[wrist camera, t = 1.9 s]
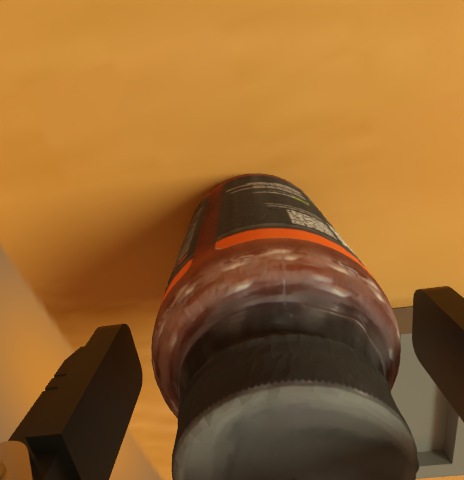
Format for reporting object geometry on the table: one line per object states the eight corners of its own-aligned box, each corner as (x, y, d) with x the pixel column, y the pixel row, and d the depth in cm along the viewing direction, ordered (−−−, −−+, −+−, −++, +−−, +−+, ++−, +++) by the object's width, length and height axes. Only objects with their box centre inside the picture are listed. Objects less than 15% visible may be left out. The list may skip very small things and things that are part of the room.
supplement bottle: (205, 296, 17) (152, 600, 7) (179, 182, 15) (38, 360, 4) (323, 280, 17) (469, 579, 6) (314, 159, 15) (515, 299, 4)
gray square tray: (266, 322, 18) (270, 348, 16) (465, 300, 17) (494, 324, 15) (284, 455, 21) (288, 488, 19) (448, 441, 21) (469, 474, 19)
